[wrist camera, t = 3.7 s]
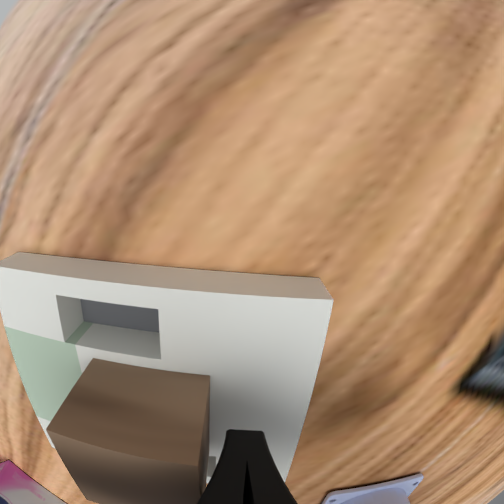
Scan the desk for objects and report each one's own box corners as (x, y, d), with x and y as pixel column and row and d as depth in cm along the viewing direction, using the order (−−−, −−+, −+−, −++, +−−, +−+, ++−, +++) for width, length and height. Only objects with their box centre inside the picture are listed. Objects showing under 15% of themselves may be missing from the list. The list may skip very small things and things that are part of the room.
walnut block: (209, 449, 11) (202, 524, 7) (112, 433, 11) (86, 499, 7) (210, 375, 10) (197, 465, 6) (93, 357, 10) (45, 429, 6)
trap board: (280, 458, 14) (283, 485, 12) (64, 425, 14) (52, 447, 12) (319, 277, 11) (333, 299, 9) (18, 251, 11) (-9, 265, 9)
